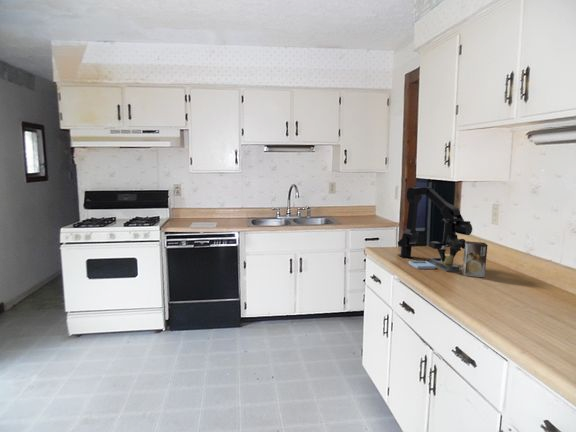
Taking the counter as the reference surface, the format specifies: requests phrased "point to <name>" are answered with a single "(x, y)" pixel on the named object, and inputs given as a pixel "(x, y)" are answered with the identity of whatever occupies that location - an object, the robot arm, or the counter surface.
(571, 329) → the counter surface
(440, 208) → the robot arm
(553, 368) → the counter surface
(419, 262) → the tray
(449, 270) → the plate with rectangular hole
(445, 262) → the brushed brass block
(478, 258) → the coffee box
